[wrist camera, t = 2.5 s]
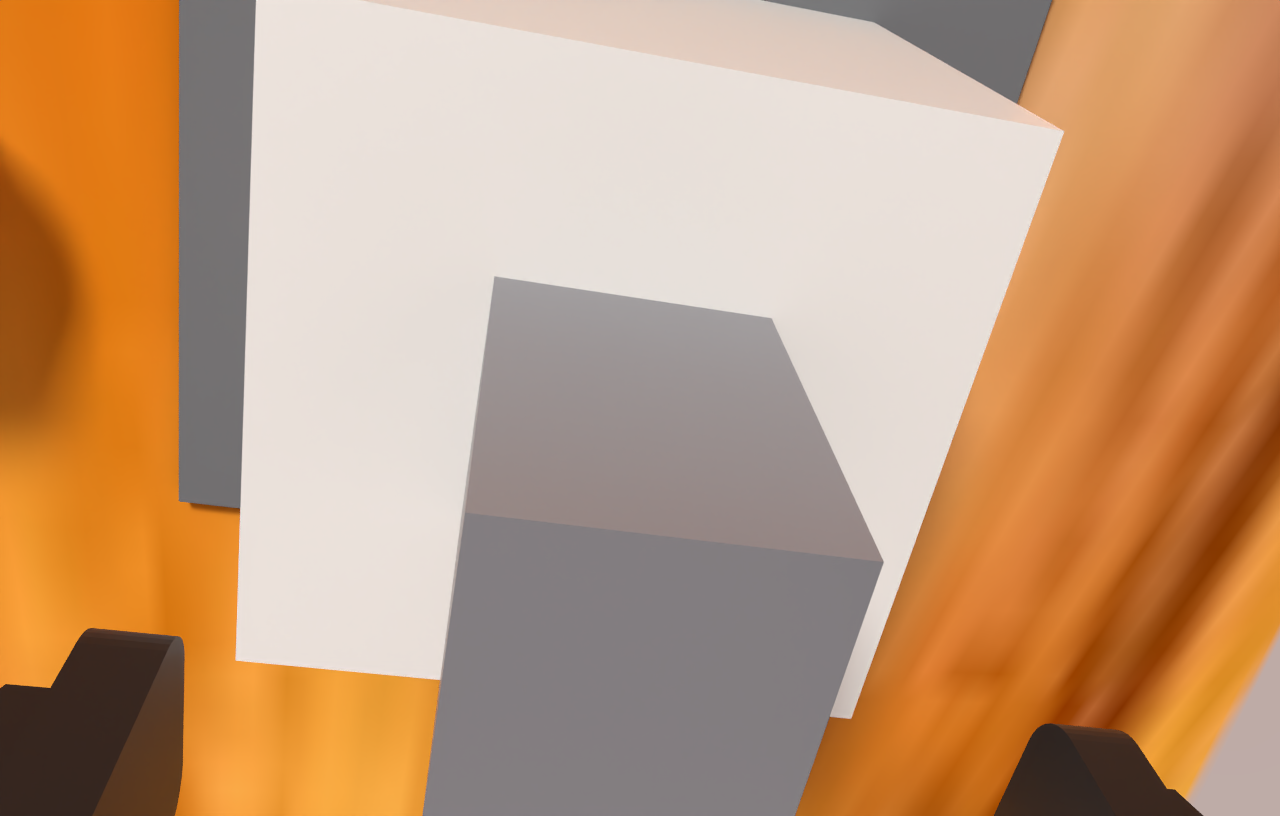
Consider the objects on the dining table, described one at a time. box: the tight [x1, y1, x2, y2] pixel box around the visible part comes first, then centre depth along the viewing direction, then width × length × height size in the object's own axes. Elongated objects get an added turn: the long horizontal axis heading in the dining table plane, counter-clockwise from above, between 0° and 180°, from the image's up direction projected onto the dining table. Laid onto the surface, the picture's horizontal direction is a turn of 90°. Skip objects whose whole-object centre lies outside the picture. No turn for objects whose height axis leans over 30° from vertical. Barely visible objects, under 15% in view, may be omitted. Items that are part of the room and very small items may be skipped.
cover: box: [236, 0, 1064, 816], centre depth 18 cm, size 11×11×16 cm
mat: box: [179, 0, 1052, 508], centre depth 25 cm, size 18×18×1 cm
